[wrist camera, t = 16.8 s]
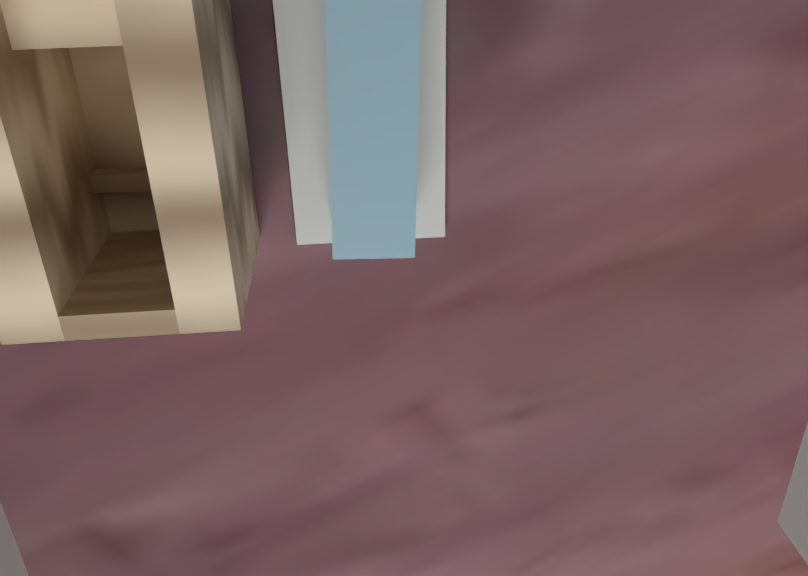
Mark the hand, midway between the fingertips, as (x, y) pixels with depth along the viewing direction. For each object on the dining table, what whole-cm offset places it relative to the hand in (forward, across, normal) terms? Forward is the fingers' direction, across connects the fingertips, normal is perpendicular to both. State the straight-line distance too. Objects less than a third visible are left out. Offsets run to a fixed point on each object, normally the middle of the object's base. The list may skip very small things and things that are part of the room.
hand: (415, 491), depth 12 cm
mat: (+28, 0, -1) cm, 28 cm away
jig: (+28, -11, +4) cm, 30 cm away
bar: (+28, +1, +1) cm, 28 cm away
